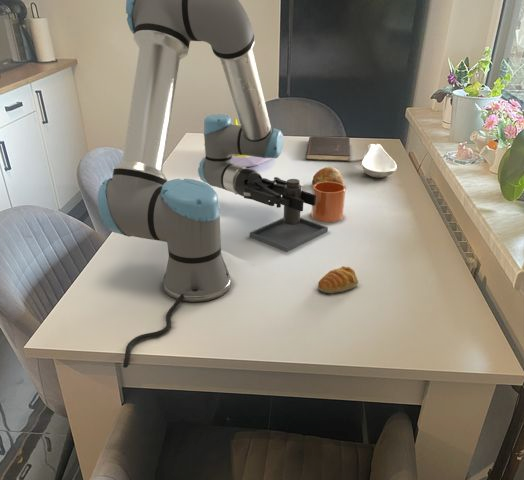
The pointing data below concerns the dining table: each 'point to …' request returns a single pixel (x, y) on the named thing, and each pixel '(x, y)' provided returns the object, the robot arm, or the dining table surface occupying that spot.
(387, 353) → the dining table surface
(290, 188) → the pepper mill
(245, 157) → the fruit bowl
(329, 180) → the bread roll
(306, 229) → the tray
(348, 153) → the hardcover book
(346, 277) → the pastry
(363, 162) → the spoon rest
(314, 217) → the pot
